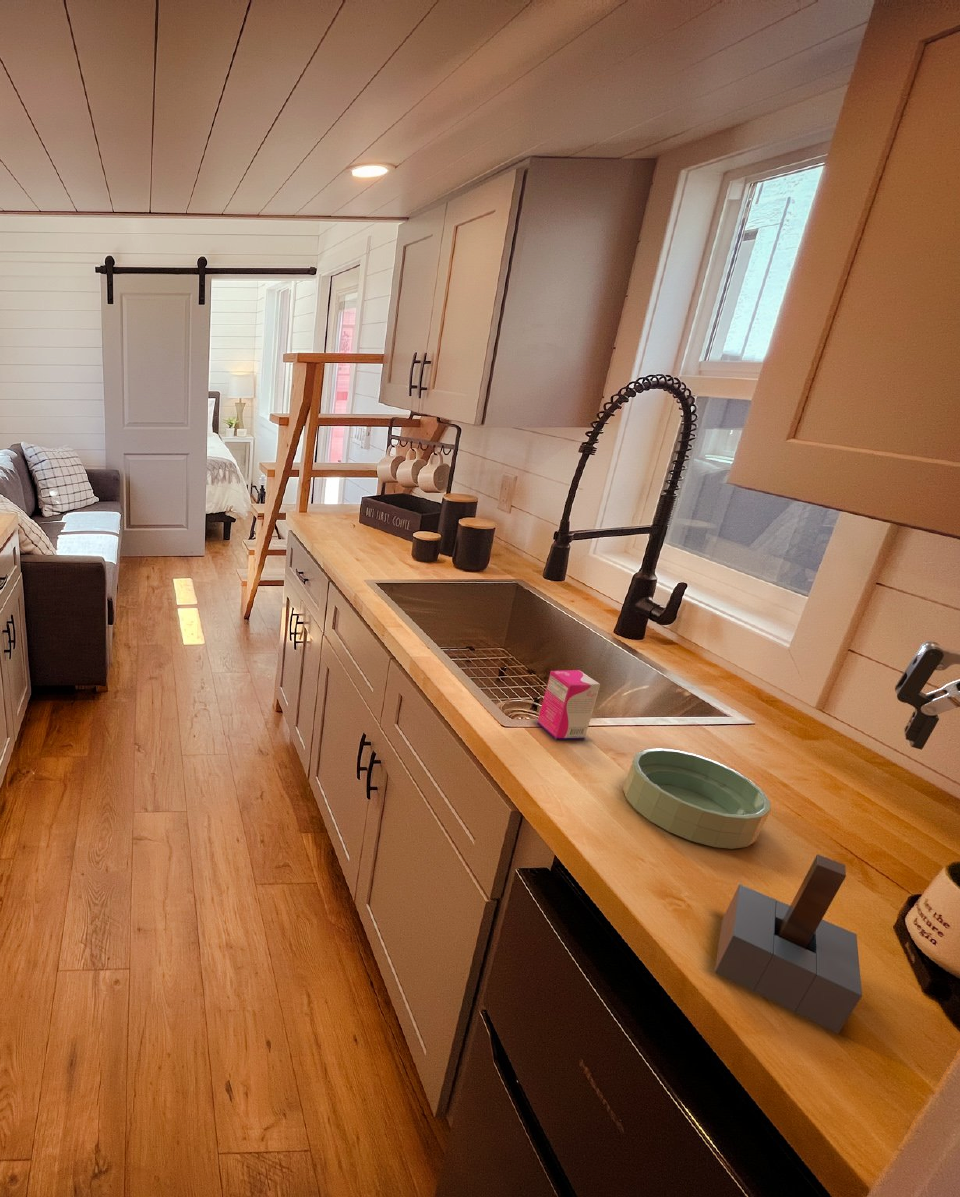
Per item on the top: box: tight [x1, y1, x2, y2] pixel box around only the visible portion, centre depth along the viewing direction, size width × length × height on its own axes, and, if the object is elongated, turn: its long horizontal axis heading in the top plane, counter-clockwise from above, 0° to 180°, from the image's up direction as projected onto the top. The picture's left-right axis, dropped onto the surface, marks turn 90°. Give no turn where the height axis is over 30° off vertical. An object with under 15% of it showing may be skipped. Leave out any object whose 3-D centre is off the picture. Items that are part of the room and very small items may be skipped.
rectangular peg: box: [775, 854, 847, 949], centre depth 71 cm, size 2×2×16 cm
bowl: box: [622, 747, 772, 850], centre depth 98 cm, size 16×16×6 cm
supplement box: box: [536, 669, 601, 741], centre depth 117 cm, size 6×6×12 cm
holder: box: [714, 883, 863, 1035], centre depth 73 cm, size 10×10×6 cm
